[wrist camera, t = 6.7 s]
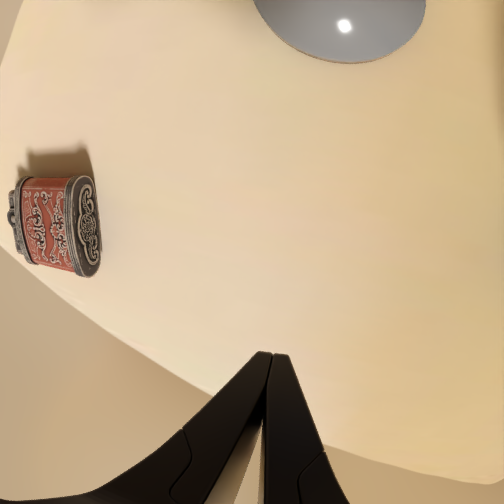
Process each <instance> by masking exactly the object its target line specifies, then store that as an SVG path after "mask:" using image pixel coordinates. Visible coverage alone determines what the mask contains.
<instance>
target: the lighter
mask: <svg viewBox="0 0 504 504" xmlns="http://www.w3.org/2000/svg"><path fill="white" fill-rule="evenodd" d="M9 205H10V209H9V212H8V213H7V217H8V222H9V224H10V225H11V226H12V228H13V233H14V239H15V244H16V249H17V252H18V253H19V254H23V255H24V258H25V260H26V261H27V262H28V263H30V264H33V265H39V264H41V265H45V266H50V267H54V268H58V269H62V270H66V271H70V272H75V273H76V274H77V275H78V276H82V277H86V278H90V277H93V276H94V275H95V274H96V273H97V271H98V269H99V266H100V261H101V240H100V222H99V214H98V206H97V199H96V194H95V189H94V184H93V181H92V179H91V178H90V177H88V176H73V177H71V178H36V177H33V176H27V177H23V178H21V179H20V180H19V181H18V182H17V184H16V186H15V190H12V191H10V192H9Z"/></svg>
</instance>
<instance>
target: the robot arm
mask: <svg viewBox="0 0 504 504" xmlns="http://www.w3.org/2000/svg"><path fill="white" fill-rule="evenodd" d="M262 422H263V425H262ZM261 426H262V436H261V456H260V475H259V493H258V504H350V503H349V502H348V500H347V498H346V496H345V495H344V493H343V491H342V489H341V487H340V485H339V483H338V481H337V479H336V477H335V474H334V472H333V470H332V467H331V465H330V463H329V460H328V457H327V455H326V452H324V447H323V444H322V442H321V439H320V437H319V434H318V431H317V429H316V426H315V423H314V421H313V418H312V415H311V413H310V410H309V408H308V405H307V402H306V400H305V397H304V394H303V392H302V389H301V386H300V384H299V381H298V378H297V376H296V373H295V370H294V368H293V365H292V363H291V360H290V357H289V356H288V355H286V354H278V353H275V354H272V353H270V352H263V351H258V352H257V353H256V354H255V355H254V356H253V357H252V358H251V359H250V360H249V361H248V362H247V363H246V364H245V365H244V366H243V367H242V368H241V369H240V370H239V371H238V372H237V373H236V374H235V376H234V377H233V378H232V379H231V380H230V381H229V382H228V383H227V384H226V385H225V386H224V387H223V388H222V389H221V390H220V391H219V392H218V393H217V394H216V395H215V396H214V397H213V398H212V399H211V400H210V401H209V402H208V403H207V404H206V405H205V406H204V407H203V408H202V409H201V410H200V411H199V412H198V413H197V414H195V415H194V416H193V417H192V418H191V419H190V420H189V421H188V422H187V423H186V424H185V425H184V426H183V427H182V429H183V430H182V429H180V430H179V431H177V432H176V433H175V434H174V435H173V436H172V437H171V438H170V439H169V440H168V441H166V442H165V443H164V444H163V445H162V446H161V447H160V448H158V449H157V450H156V451H154V452H153V453H152V454H150V455H149V456H148V457H146V458H145V459H143V460H142V461H141V462H139V463H138V464H136V465H135V466H133V467H131V468H130V469H128V470H127V471H125V472H124V473H122V474H121V475H119V476H118V477H116V478H114V479H113V480H111V481H110V482H108V483H106V484H105V485H103V486H101V487H99V488H97V489H95V490H93V491H90V492H87V493H83V494H79V495H73V496H67V497H58V498H49V499H38V500H24V501H9V500H3V499H0V504H233V503H234V501H235V499H236V496H237V493H238V491H239V488H240V486H241V483H242V480H243V478H244V475H245V472H246V469H247V467H248V464H249V461H250V458H251V455H252V453H253V450H254V447H255V444H256V442H257V439H258V436H259V433H260V429H261Z"/></svg>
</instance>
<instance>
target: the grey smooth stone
mask: <svg viewBox="0 0 504 504" xmlns="http://www.w3.org/2000/svg"><path fill="white" fill-rule="evenodd" d="M254 3H255V5H256V8H257V9H258V11H259V13H260V14H261V16H262V18H263V19H264V21H265V22H266V24H267V25H268V26H269V27H270V29H271V30H272V31H273V32H274V33H275V34H276V35H277V36H278V37H279V38H280V39H281V40H283V41H284V42H285V43H286V44H288V45H289V46H291V47H293V48H294V49H296V50H297V51H299V52H302V53H304V54H306V55H308V56H311V57H314V58H316V59H320V60H324V61H327V62H333V63H341V64H357V63H366V62H371V61H375V60H378V59H381V58H383V57H386V56H388V55H390V54H392V53H393V52H395V51H396V50H398V49H399V48H400V47H402V46H403V45H404V44H406V43H407V42H408V41H409V40H410V39H411V38H412V37H413V36H414V34H415V33H416V32H417V31H418V29H419V27H420V25H421V23H422V20H423V17H424V14H425V7H426V1H425V0H254Z"/></svg>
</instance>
